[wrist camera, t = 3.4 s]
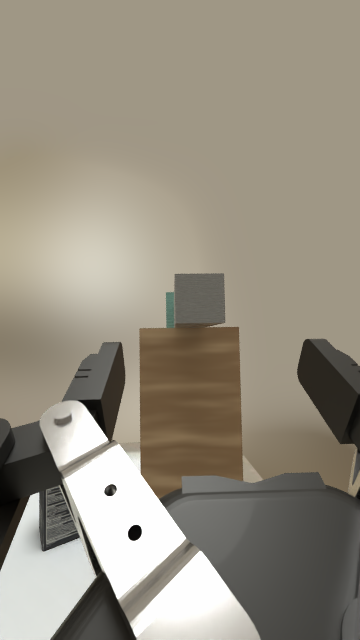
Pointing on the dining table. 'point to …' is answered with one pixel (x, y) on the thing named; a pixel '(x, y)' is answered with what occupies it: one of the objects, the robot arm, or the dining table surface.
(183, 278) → the bar
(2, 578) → the dining table surface
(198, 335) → the stand
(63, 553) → the dining table surface
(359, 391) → the robot arm
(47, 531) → the small box
